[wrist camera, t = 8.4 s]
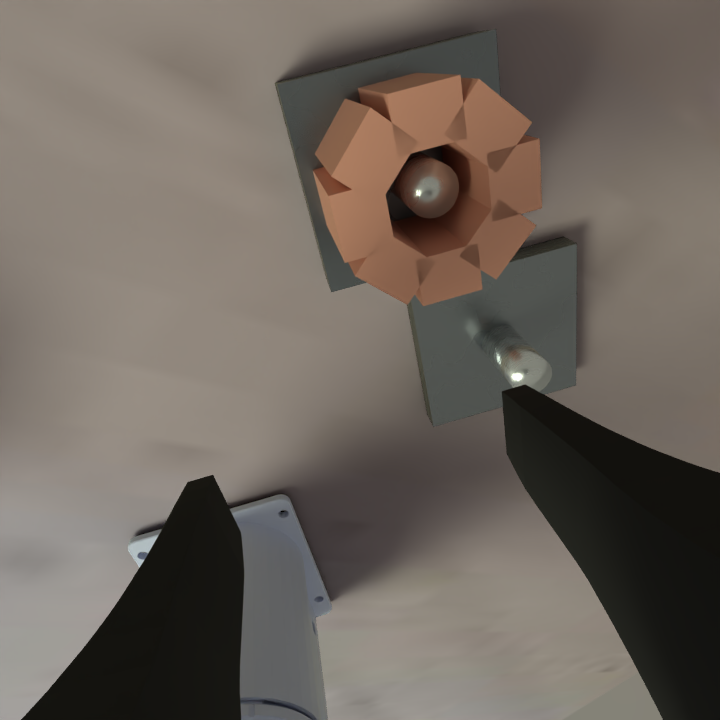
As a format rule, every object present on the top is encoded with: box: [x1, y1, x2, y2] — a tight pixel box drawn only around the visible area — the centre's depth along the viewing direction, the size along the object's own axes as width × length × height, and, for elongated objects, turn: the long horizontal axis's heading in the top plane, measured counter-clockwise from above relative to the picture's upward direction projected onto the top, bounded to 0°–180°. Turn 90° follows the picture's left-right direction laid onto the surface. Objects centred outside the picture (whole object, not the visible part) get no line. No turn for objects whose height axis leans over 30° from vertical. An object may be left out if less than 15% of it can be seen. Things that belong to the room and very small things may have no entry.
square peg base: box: [275, 29, 500, 292], centre depth 17 cm, size 7×7×4 cm
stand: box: [407, 237, 577, 427], centre depth 22 cm, size 7×7×4 cm
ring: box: [313, 73, 542, 306], centre depth 16 cm, size 6×6×4 cm
